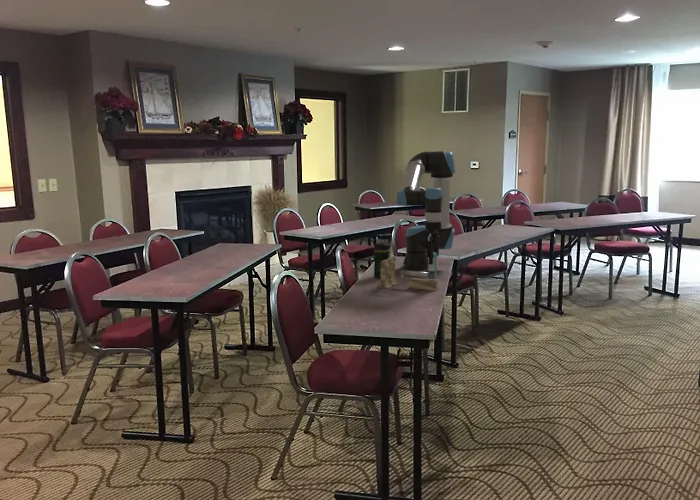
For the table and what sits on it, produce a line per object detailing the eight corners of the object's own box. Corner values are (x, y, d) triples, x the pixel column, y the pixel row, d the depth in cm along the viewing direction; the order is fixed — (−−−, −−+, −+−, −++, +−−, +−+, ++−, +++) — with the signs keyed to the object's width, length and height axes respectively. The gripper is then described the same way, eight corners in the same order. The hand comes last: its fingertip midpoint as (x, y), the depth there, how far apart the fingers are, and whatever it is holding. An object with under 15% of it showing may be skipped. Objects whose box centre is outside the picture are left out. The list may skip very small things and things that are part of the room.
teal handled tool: (402, 276, 285) (402, 249, 283) (436, 279, 277) (437, 252, 275) (400, 277, 282) (400, 250, 280) (434, 280, 274) (435, 253, 272)
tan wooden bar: (412, 286, 283) (412, 277, 283) (437, 289, 278) (437, 280, 277) (409, 288, 281) (410, 279, 280) (435, 290, 275) (435, 281, 274)
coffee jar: (386, 279, 300) (386, 243, 297) (372, 278, 303) (372, 243, 300) (392, 275, 309) (392, 240, 306) (378, 274, 312) (378, 240, 308)
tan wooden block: (388, 281, 295) (388, 256, 293) (399, 282, 292) (399, 257, 290) (376, 287, 283) (376, 261, 280) (388, 288, 280) (388, 262, 278)
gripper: (431, 218, 280) (430, 266, 284) (419, 222, 266) (419, 272, 270) (446, 219, 277) (445, 267, 281) (435, 223, 263) (434, 274, 267)
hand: (432, 270), depth 276 cm, fingers closed on teal handled tool, 3 cm apart
